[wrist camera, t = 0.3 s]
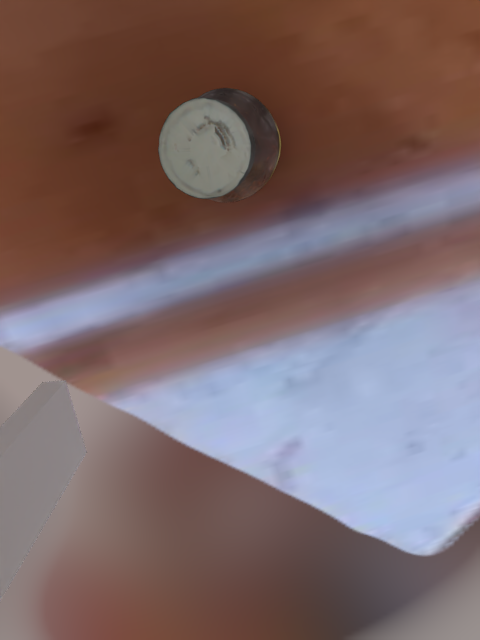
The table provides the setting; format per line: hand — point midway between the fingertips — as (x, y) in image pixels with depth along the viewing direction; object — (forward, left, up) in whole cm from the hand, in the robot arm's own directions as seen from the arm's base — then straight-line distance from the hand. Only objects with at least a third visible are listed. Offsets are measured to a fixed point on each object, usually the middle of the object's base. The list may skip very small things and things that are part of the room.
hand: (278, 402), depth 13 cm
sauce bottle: (-7, -2, -28) cm, 29 cm away
